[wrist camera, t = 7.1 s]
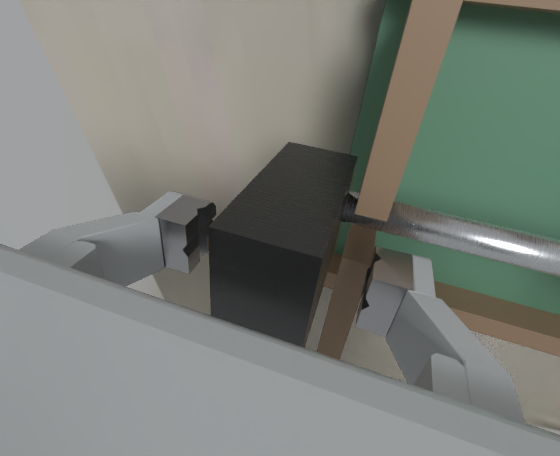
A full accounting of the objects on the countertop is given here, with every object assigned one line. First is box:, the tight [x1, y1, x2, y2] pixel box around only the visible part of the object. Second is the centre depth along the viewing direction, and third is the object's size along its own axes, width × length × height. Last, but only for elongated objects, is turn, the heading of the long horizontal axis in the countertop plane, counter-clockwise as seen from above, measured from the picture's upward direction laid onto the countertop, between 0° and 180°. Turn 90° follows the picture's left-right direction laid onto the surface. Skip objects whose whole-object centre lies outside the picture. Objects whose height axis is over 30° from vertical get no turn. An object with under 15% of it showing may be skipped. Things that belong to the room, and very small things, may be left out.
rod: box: [208, 142, 560, 347], centre depth 11 cm, size 17×4×11 cm, turn 84°
